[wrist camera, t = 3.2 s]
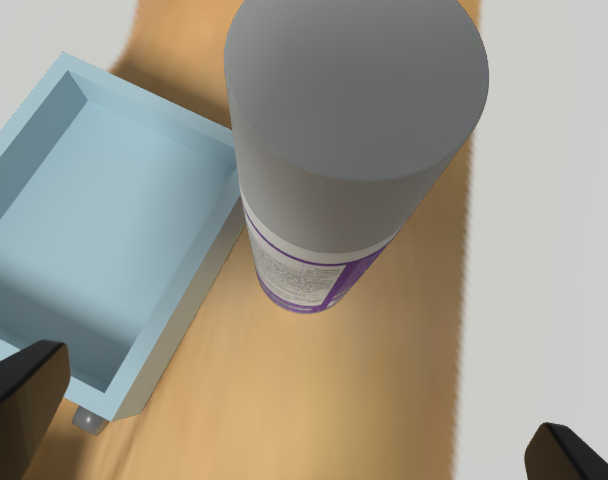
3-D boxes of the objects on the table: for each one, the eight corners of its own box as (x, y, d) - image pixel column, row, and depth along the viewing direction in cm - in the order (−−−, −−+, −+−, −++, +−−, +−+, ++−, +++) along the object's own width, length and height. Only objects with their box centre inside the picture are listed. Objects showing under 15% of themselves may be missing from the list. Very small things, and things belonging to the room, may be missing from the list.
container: (334, 207, 23) (430, -76, 9) (368, 296, 22) (546, 142, 7) (243, 235, 22) (182, -21, 8) (273, 328, 21) (266, 228, 7)
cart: (123, 444, 19) (89, 460, 16) (-78, 338, 20) (-157, 329, 16) (280, 161, 23) (281, 121, 20) (109, 81, 24) (80, 28, 20)
